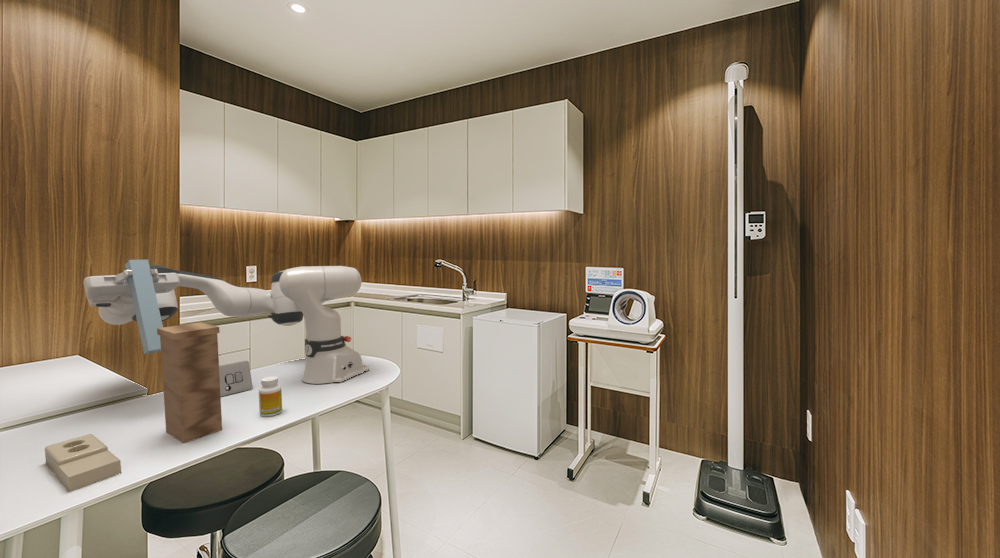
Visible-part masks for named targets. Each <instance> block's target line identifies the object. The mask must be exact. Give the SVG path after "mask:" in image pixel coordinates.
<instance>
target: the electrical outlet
mask: <svg viewBox="0 0 1000 558" xmlns="http://www.w3.org/2000/svg"><path fill="white" fill-rule="evenodd" d="M44 459H45V464H46V466H47V467H48V466H49V467H48V468H49V469H50V470H51V471H52V472H53V474H54V475H55V476H56V477H57V478H58V480H59V481H60V480H61V481H60V482H61V483H62V484H63V485H64V486H65V488H66V489H67V490H68V491H69V492H73V491H76V490H78V489H81V488H83V487H86V485H87V486H89V485H92V484H95V483H97V482H100V480H101V481H103V480H106V479H108V478H112V477H114V476H116V474H117V475H120V474H122V464H121V459H120V458H119V457H117V456H116V455H115V454H114V453H112V452H111V451H110V450H109V448H108V446H107V445H106V444H105V443H103V442H102V441H101V440H100V439H98V437H96V436H95V435H94V434H92V433H89V434H85V435H82V436H77V437H75V438H71V439H67V440H64V441H61V442H60V441H59V442H57V443H53V444H50V445H46V446H45V448H44ZM119 473H120V474H119ZM94 482H95V483H94Z"/></svg>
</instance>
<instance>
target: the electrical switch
mask: <svg viewBox="0 0 1000 558" xmlns="http://www.w3.org/2000/svg"><path fill="white" fill-rule="evenodd" d="M219 377H220V396H221V397H227V396H230V395H233V394H237V393H241V392H245V391H250V390H252V389H253V381H252V374H251V368H250V361H248V360H242V361H238V362H231V363H227V364H223V365H222V364H221V365H219ZM227 388H228V389H227Z"/></svg>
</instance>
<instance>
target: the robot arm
mask: <svg viewBox="0 0 1000 558" xmlns="http://www.w3.org/2000/svg"><path fill="white" fill-rule="evenodd" d="M149 266H150V271H151V275H152V280H153V284H154V289H155V293H156V298H157V302H158V307H159V311H160V316H161V320H162V322H164V321H166V320H169V319H171V318H172V317H173V316H174V315H175V314H176V313H177V312H178V311H179V307H178V300H177V296H176V291H175V289H176V288H177V287H183V288H184V287H185V288H191V289H197V290H199V291H201V292H202V293H203V294H204V295H206V297H208V299H209V300H210V302H211V303H212V304H213V306H214V308H215V309H216V311H218V312H219V313H220V314H222V315H224V316H227V317H230V318H231V317H232V318H233V317H237V318H238V317H241V318H242V317H252V316H253V317H254V316H258V315H263V314H268V313H269V314H270V315H268V316H267V317H268V319H271V320H272V321H273V322H274V323H275V324H277V325H279V326H281V325H282V326H285V327H290V326H294V325H296V324H298V323H301V322H302V321H303V319H304V324H305V339H304V351H305V352H304V353H305V364H304V370H303V375H302V378H301V380H302V382H303V383H307V384H313V385H317V384H318V385H319V384H329V383H331V384H332V383H333V382H340V383H343V382H342V381H344V380H346V381H348V380H350V379H352V378H351V377H353V376H355V375H357V376H359V375H358V374H360V373H362V372H364V371H366V372H368V371H367V370H369V371H370V367H369V366H368V365H366V364H363V360H362V356H361V354H360V353H359V352H358V351H356V350H354V349H353V348H351V347H349V346H348V345H347V344H346V343H350V342H351V341H352V337H351V336H348V335H345V336H343V335H342V329H341V328H342V326H341V325H342V324H341V323H342V322H341V315H340V314H339V312H338V311H336V310H335V309H333V308H331V307H328V306H325V305H323V304H324V303H325V302H330V301H333V300H337V299H340V298H344V297H348V296H349V297H350V296H352V295H356V294H357V293H358V292H359V291H360V289H361V286H362V276H361V274H360V272H359V270H358V269H357V268H355V267H350V266H345V265H316V266H315V265H313V266H311V265H310V266H306V265H305V266H296V267H291V268H287V269H285V270H280V271H277V272H275V273H273V274H272V275H271V278H270V285H271V288H270V290H267V289H262V288H256V287H242V286H236V285H233V284H230V283H228V282H226V281H225V280H224V279H223V278H221V277H216V276H214V275H213V276H212V275H208V274H207V275H206V274H200V273H195V272H189V271H183V270H178V269H173V268H170V267H166V266H163V265H157V264H149ZM132 276H133V273H132V270H126V269H124V270H123V272H120V273H118V274H115V275H113V274H111V275H93V276H92V275H91V276H87V277H85V278H84V279H83V287H84V288H83V289H84V291H85V296H86V300H87V302H88V305H89V306H90V307H92V308H93V307H95V308H98V315H99V317H100V319H101V320H103V321H104V322H105V323H107V324H109V325H114V326H121V325H124V324H128V323H130V322H133V321H134V322H137V319H136V314H135V309H134V305H133V300H132V295H131V291H130V286H129V281H128V278H132ZM364 373H365V372H364ZM362 374H363V373H362ZM360 375H361V374H360ZM355 377H356V376H355ZM349 378H350V379H349ZM353 378H354V377H353ZM347 379H348V380H347ZM344 382H345V381H344Z"/></svg>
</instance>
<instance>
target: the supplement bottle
mask: <svg viewBox="0 0 1000 558" xmlns="http://www.w3.org/2000/svg"><path fill="white" fill-rule="evenodd" d="M260 384H261V387H259V389H258V405H259V408H258V409H259V411H258V412H259V415H260V416H261V417H273V416H276V415H277V416H278V415H279V414H281V413H282V411H283V400H282V399H283V398H282V397H283V396H282V386H281V384H279V377H278V376H266V377H263V378H261V380H260Z"/></svg>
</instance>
